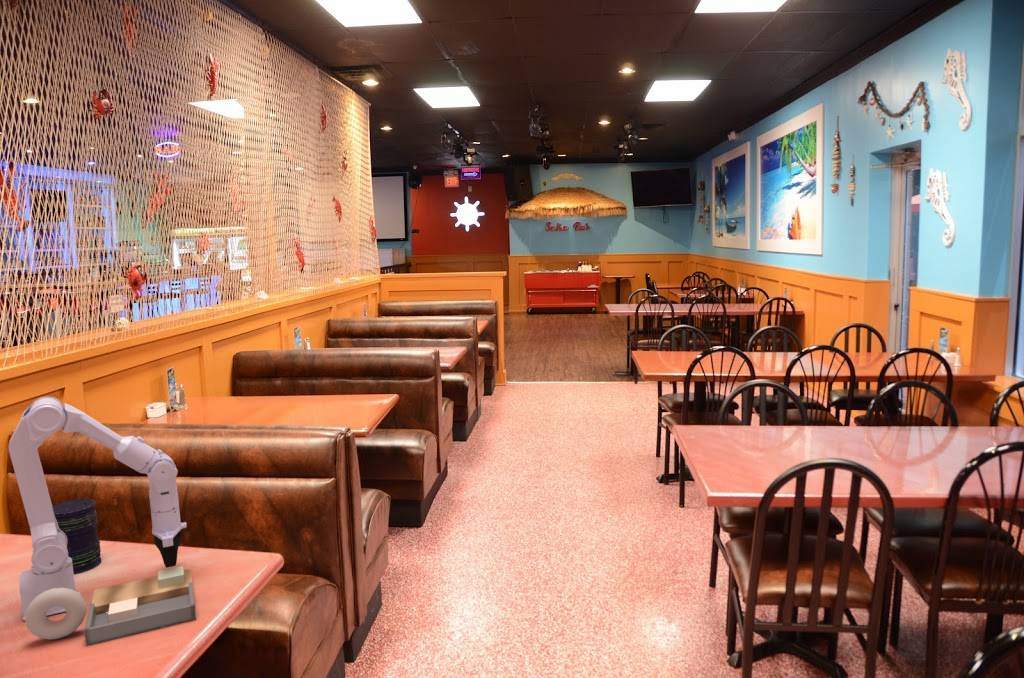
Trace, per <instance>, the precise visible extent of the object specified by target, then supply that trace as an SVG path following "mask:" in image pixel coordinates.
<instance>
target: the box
mask: <svg viewBox="0 0 1024 678" xmlns="http://www.w3.org/2000/svg"><path fill="white" fill-rule="evenodd" d="M193 585H194V584H193V581H192V582H189V583H188V586H189V594H188V595H184V596H179V597H175V598H170V599H166V600H161V601H157V602H152V603H148V604H143V605H139V606H138V617H134V618H130V619H125V620H121V621H117V622H112V623H109V618H108V613H103V614H99V615H96V612H95V603H93V604H92V603H89V607H88V612H87V618H86V623H85V628H84V637H85V644H86V646H91V645H96V644H99V643H103V642H108V641H112V640H115V639H116V640H117V639H120V638H124V637H125V638H126V637H128V636H129V637H130V636H134V635H137V634H140V633H141V634H142V633H145V632H150V631H153V630H157V629H162V628H166V627H172V626H175V625H179V624H183V623H187V622H192V621H195V620H197V615H196V606H195V603H196V602H195V597H194V595H195V594H194V588H193V587H194V586H193Z"/></svg>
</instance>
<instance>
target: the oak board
mask: <svg viewBox="0 0 1024 678" xmlns="http://www.w3.org/2000/svg"><path fill="white" fill-rule="evenodd" d="M184 581H185V583H184V584H180V585H175V586H170V587H166V588H161V589H159V584H158V575H157V576H151V577H148V578H142V579H139V580H133V581H128V582H124V583H120V584H114V585H110V586H105V587H100V588H96V589H95V588H94V590H93V595H92V598H91V604H93V603H95V612H96V615H99V614H103V613H106V612H109V606H110V603H115V602H120V601H124V600H129V599H134V598H138V606H139V605H143V604H148V603H152V602H157V601H161V600H166V599H170V598H175V597H179V596H184V595H188V594H189V586H188V583H189V582H192V583H193V576H192V569H186V570H184Z"/></svg>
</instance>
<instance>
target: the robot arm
mask: <svg viewBox="0 0 1024 678" xmlns="http://www.w3.org/2000/svg"><path fill="white" fill-rule="evenodd" d="M61 429H62V433H64V434H65V433H80V434H83V435H84V436H85V437H88V438H90V439H92V440H94V441H96V442H97V443H99V444H101V445H103V446H105V447H106V448H109V449H111V450H112V451H113V452H112V454H113V458H114V459H115V460H116V461H119V462H120V463H122V464H124V465H125V466H127V467H129V468H131V469H133V470H134V471H135V472H138V473H140V474H145V475H147V477H148V483H149V484H148V485H149V490H148V494H149V495H148V497H149V504H150V516H151V525H152V529H151V533H152V535H154V537H153V543H154V545H155V547H156V548H157V549H158V551H159V553H160V556H161V558H162V561H163V564H164V567H165V568H166V569H169V568H174V567H177V563H178V562H177V561H178V553H179V552H178V551H179V547H180V543H181V541H182V538H183V535H182V530H183V529H187V527H188V526H187V522H186V521H185V522H181V513H180V501H179V493H178V486H177V476H178V472H179V470H178V469H177V466H176V464H175V462H174V460H173V458H172V457H171V456H169V455H168V454H167V453H166V452H163V450H161V449H160V448H158V449H156V448H154V447H152V446H150V445H148V444H147V443H145V442H144V441H145V439H144V438H142V437H141V436H140V435H138V436H137V437H135V436H133V435H127V436H121V435H120V434H118V433H116V432H115V431H113V430H112V429H110V428H109V427H107V426H105V424H103V423H101V422H100V421H98V420H96V419H95V418H93V417H92V416H90V415H88V414H87V413H85V412H84V411H82V410H80V409H79V408H77V407H75V406H72V405H71V404H68V403H66V402H64V404H63V402H62V401H61V400H59V399H58V398H56V397H53V396H43V397H39V398H37V399H35V400H34V401H33V402H32V403H31V404H30V405H29V406H28V407H26V409H24V411H23V413H22V415H21V417H20V419H19V421H18V424H17V426H16V427H15V429H14V431H13V433H12V436H11V438H10V439H9V443H8V453H9V456H10V461H11V463H12V467H13V471H14V474H15V477H16V481H17V485H18V488H19V493H20V496H21V499H22V503H23V507H24V511H25V514H26V518H27V521H28V525H29V530H30V534H31V542H32V544H31V545H32V554H31V559H30V560H31V565H32V566H31V567H30V569H29V570H25V571H21V572H20V574H19V575H20V576H19V581H18V582H19V595H20V596H19V597H20V601H21V602H20V603H21V608H22V610H21V611H22V621H25V616H26V611H27V609H28V606H29V604H30V603H31V602H32V601H33V600H34V599H35V598H36V597H37V596H38V595H40V594H41V593H43V592H44V591H47V590H50V589H53V588H68V589H72V590H74V591H76V592H78V593H79V594H80V595H81V591H77V590H76V583H75V574H74V573H73V565H72V559H71V558H70V557H68V550H67V542H68V540H67V536H66V535H65V533H64V532H62V531H61V530H60V528H59V526H58V523H57V520H56V518H55V515H54V511H53V507H52V506H53V503H52V500H51V496H50V492H49V488H48V485H47V482H46V478H45V477H46V476H45V474H44V470H43V466H42V462H41V458H40V454H39V451H38V449H39V447H40V446H41V445H42V444H43V443H44V442H45V440H46V439H47V438H49V437H51V436H52V435H53V434H55V433H57V432H58V431H60V430H61ZM60 613H66V610H65V608H63V607H61V606H54V607H51V608H50V609H48V611H47V613H46V616H47V617H48V616H51V615H57V614H60Z"/></svg>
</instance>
